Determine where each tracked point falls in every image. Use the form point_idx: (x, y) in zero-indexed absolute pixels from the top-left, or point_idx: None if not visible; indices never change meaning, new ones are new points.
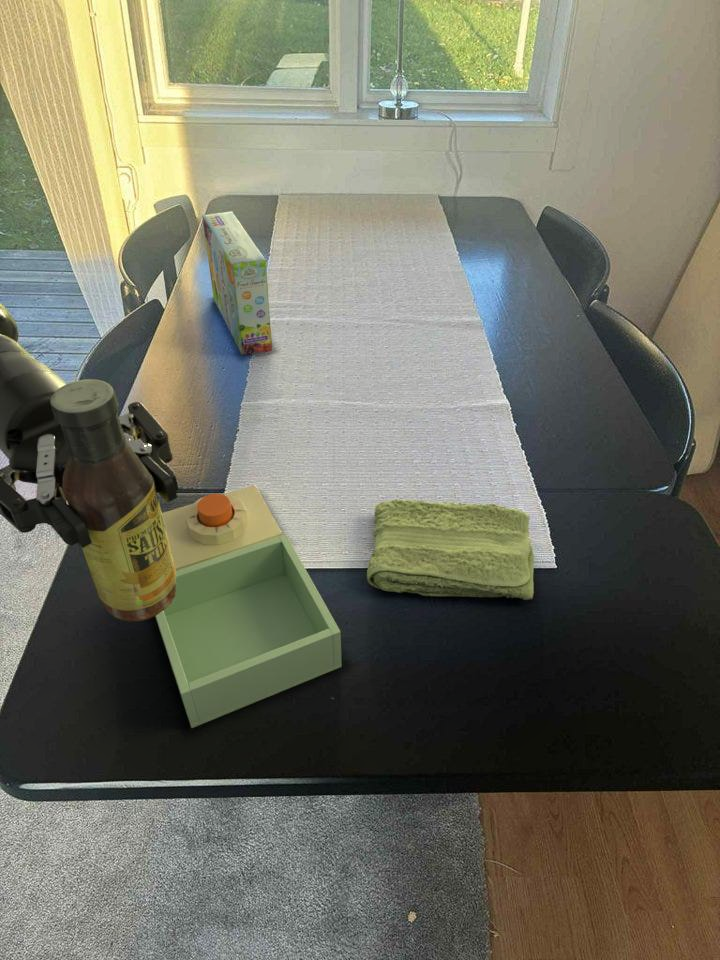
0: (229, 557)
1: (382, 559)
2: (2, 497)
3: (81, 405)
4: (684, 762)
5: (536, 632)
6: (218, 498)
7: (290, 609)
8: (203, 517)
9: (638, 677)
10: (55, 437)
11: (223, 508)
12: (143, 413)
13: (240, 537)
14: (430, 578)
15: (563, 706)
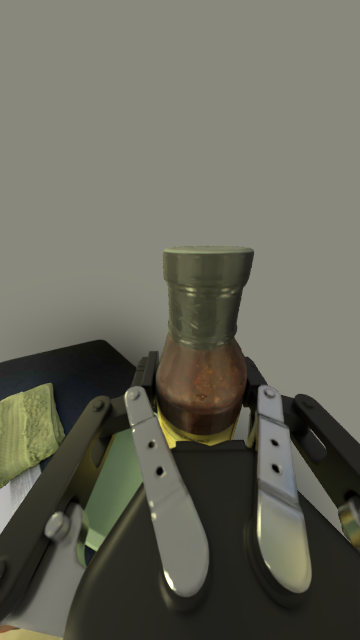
0: (90, 531)
1: (42, 442)
2: (337, 426)
3: (214, 246)
4: (103, 341)
5: (69, 378)
6: None
7: (101, 474)
8: None
9: (79, 354)
10: (257, 621)
11: None
12: (37, 499)
13: (23, 637)
14: (52, 414)
15: (99, 361)
